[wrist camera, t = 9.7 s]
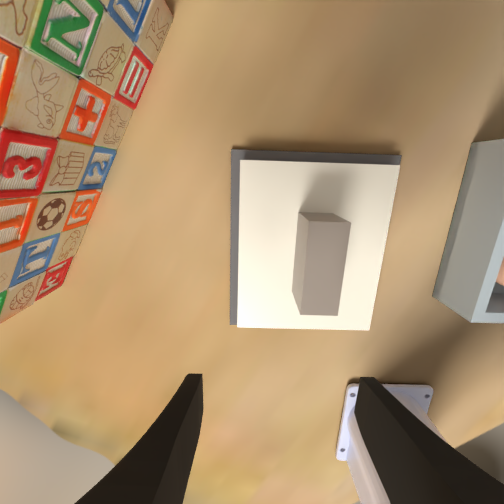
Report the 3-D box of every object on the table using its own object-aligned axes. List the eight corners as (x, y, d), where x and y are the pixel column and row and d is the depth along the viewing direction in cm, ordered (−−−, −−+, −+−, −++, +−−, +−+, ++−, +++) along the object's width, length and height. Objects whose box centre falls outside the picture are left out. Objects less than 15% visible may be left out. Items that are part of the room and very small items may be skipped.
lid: (361, 320, 22) (391, 360, 18) (237, 317, 22) (234, 357, 17) (389, 165, 19) (436, 163, 14) (240, 160, 18) (237, 157, 14)
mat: (367, 325, 23) (369, 327, 23) (230, 322, 23) (229, 324, 22) (399, 155, 19) (401, 155, 18) (231, 149, 18) (231, 149, 18)
